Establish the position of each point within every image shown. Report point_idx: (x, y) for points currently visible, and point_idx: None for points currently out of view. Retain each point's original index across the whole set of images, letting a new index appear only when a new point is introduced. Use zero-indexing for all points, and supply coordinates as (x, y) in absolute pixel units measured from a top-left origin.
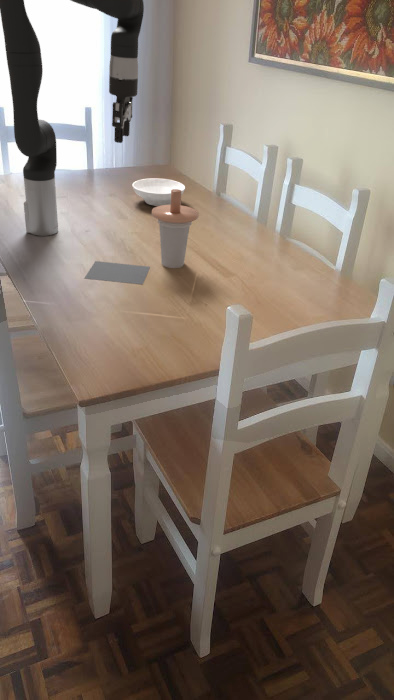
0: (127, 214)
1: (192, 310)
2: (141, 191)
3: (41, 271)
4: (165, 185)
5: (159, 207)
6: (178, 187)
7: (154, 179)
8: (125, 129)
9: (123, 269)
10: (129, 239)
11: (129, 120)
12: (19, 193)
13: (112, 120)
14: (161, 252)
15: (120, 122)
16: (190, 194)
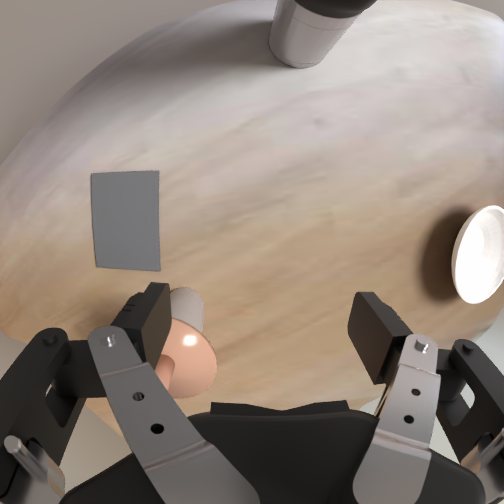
0: (421, 194)
1: (66, 329)
2: (467, 226)
3: (109, 97)
4: (500, 261)
5: (182, 332)
6: (489, 285)
7: None
8: (364, 334)
9: (135, 228)
10: (291, 213)
11: (381, 396)
12: (453, 15)
13: (20, 354)
14: (170, 297)
15: (48, 400)
16: None
